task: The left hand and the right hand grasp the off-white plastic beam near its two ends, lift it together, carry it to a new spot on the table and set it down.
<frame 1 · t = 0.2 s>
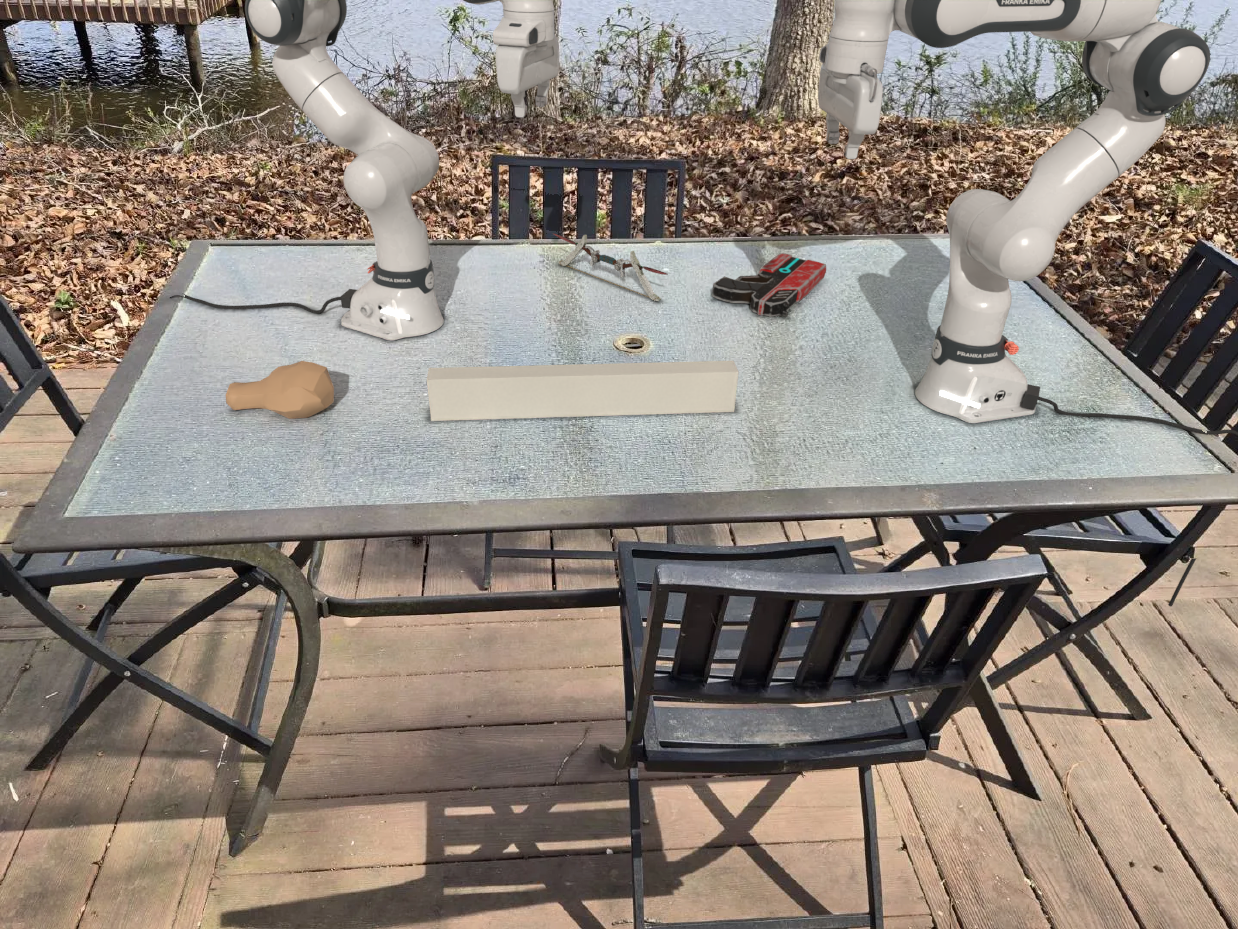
left hand: (531, 111, 161), 48 cm above the table, tool pointing down, fingers open, 8 cm apart
right hand: (840, 150, 143), 48 cm above the table, tool pointing down, fingers open, 8 cm apart
squash: (284, 410, 163), on the table
bow: (607, 282, 218), on the table
gun: (770, 291, 216), on the table
beam: (584, 410, 166), on the table
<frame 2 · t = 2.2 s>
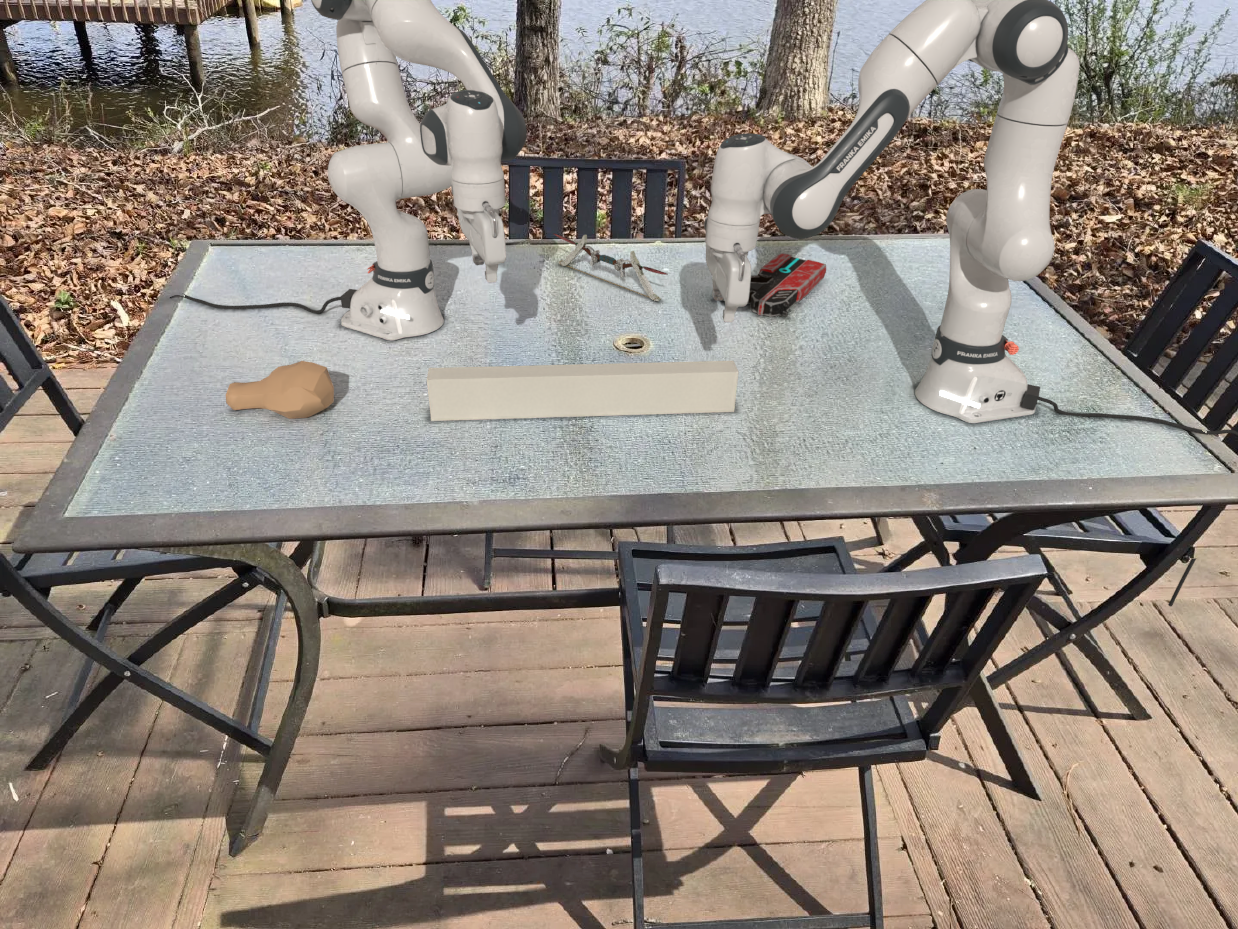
left hand: (484, 272, 157), 24 cm above the table, tool pointing down, fingers open, 8 cm apart
right hand: (722, 309, 157), 20 cm above the table, tool pointing down, fingers open, 8 cm apart
nothing on the table moved.
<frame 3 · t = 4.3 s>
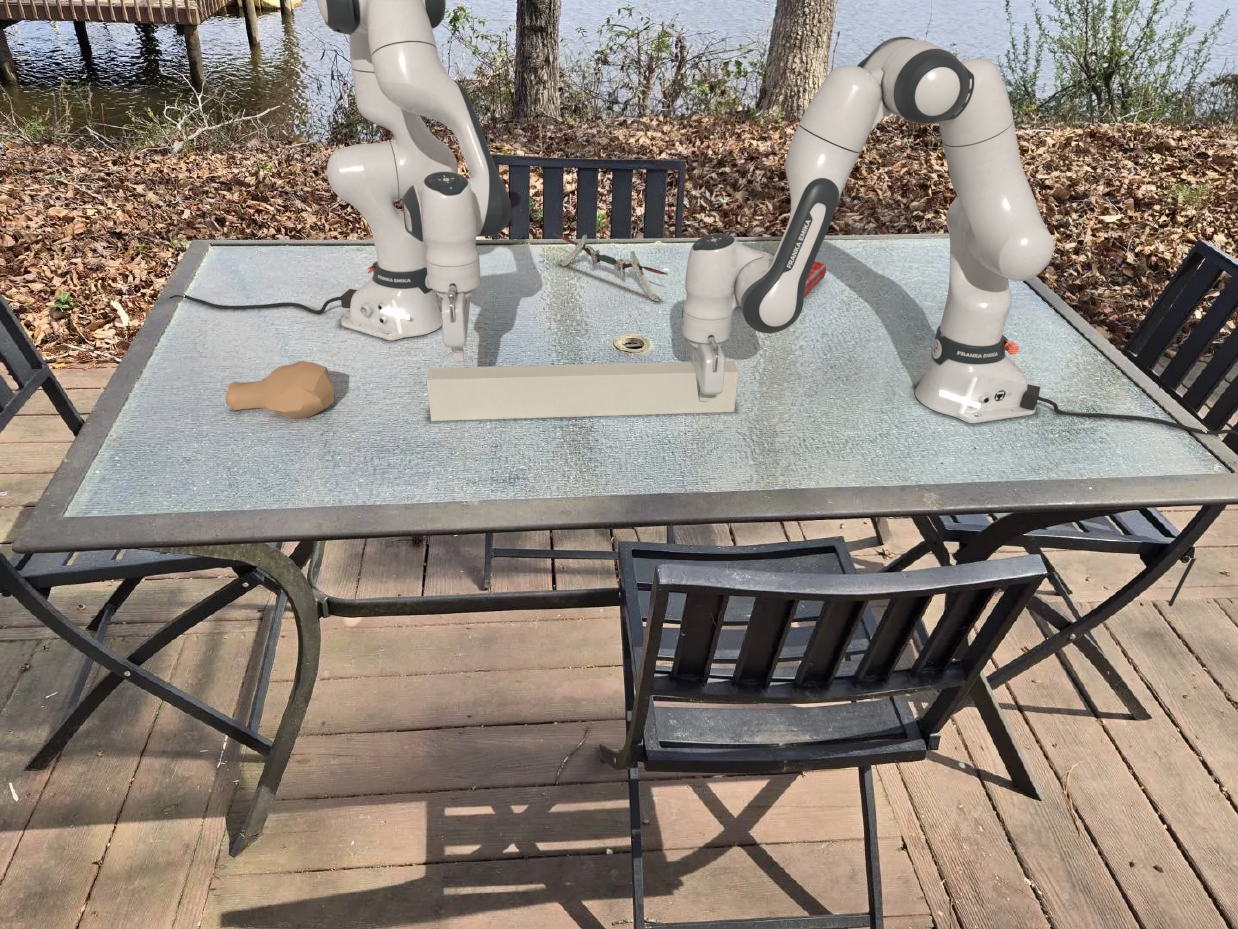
left hand: (460, 347, 156), 14 cm above the table, tool pointing down, fingers open, 8 cm apart
right hand: (700, 392, 166), 3 cm above the table, tool pointing down, fingers closed on beam, 4 cm apart
beam: (584, 410, 166), on the table, touching right hand
everything else where it was.
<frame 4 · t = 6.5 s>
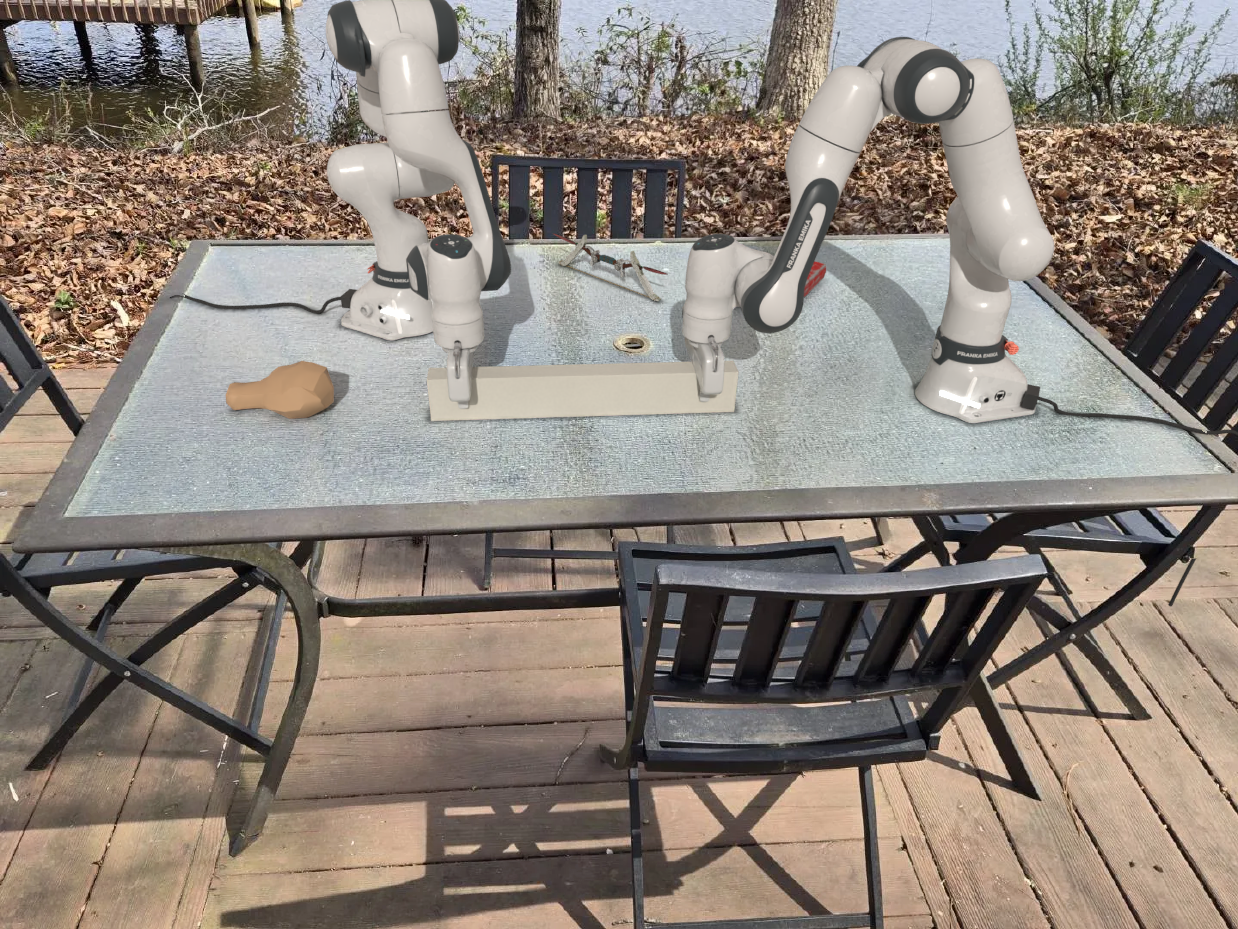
left hand: (464, 398, 162), 3 cm above the table, tool pointing down, fingers closed on beam, 4 cm apart
right hand: (700, 392, 166), 3 cm above the table, tool pointing down, fingers closed on beam, 4 cm apart
beam: (584, 410, 166), on the table, touching left hand, right hand
everything else where it was.
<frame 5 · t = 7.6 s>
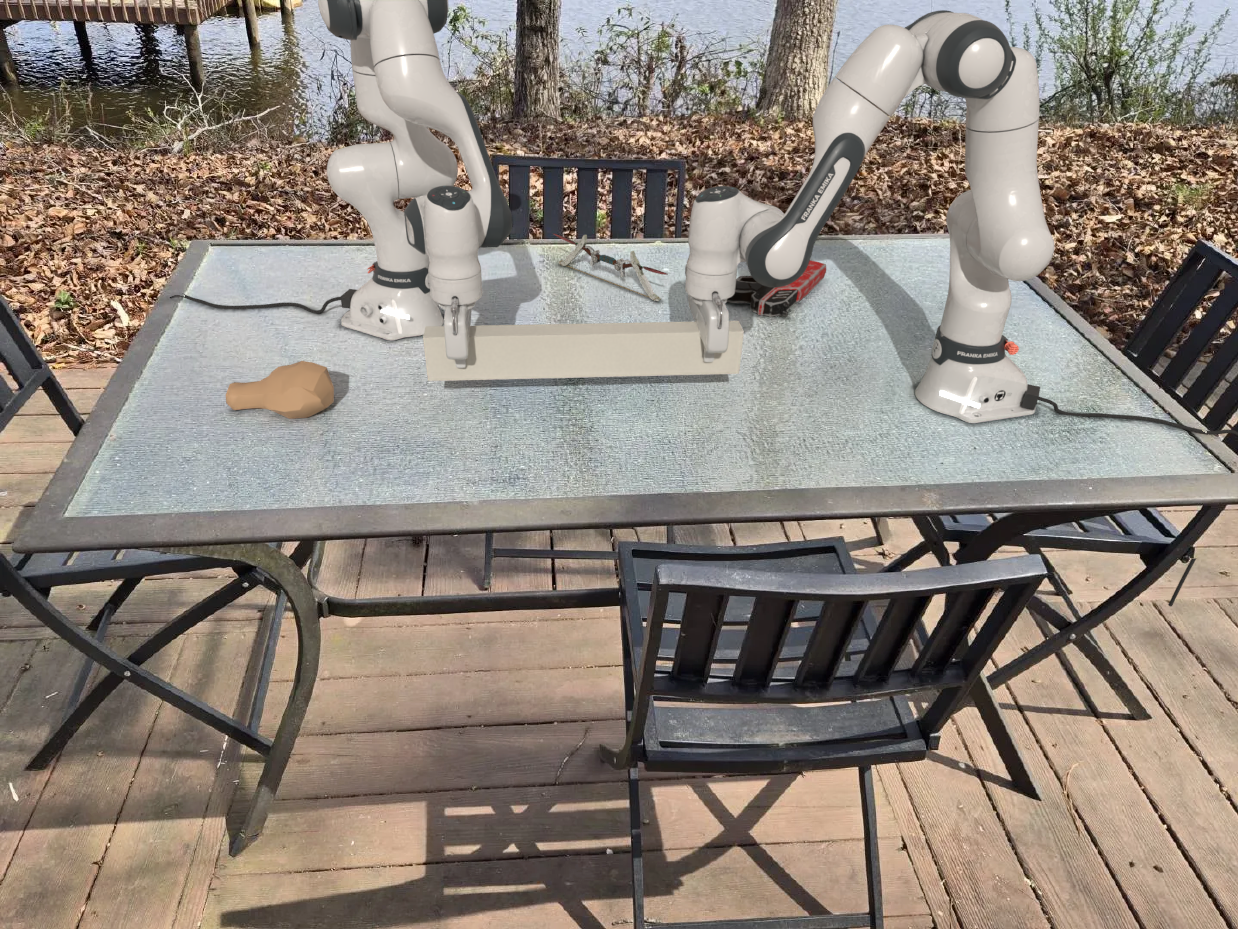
left hand: (461, 358, 158), 11 cm above the table, tool pointing down, fingers closed on beam, 4 cm apart
right hand: (705, 352, 162), 11 cm above the table, tool pointing down, fingers closed on beam, 4 cm apart
beam: (585, 371, 161), point 8 cm above the table, touching left hand, right hand
everything else where it was.
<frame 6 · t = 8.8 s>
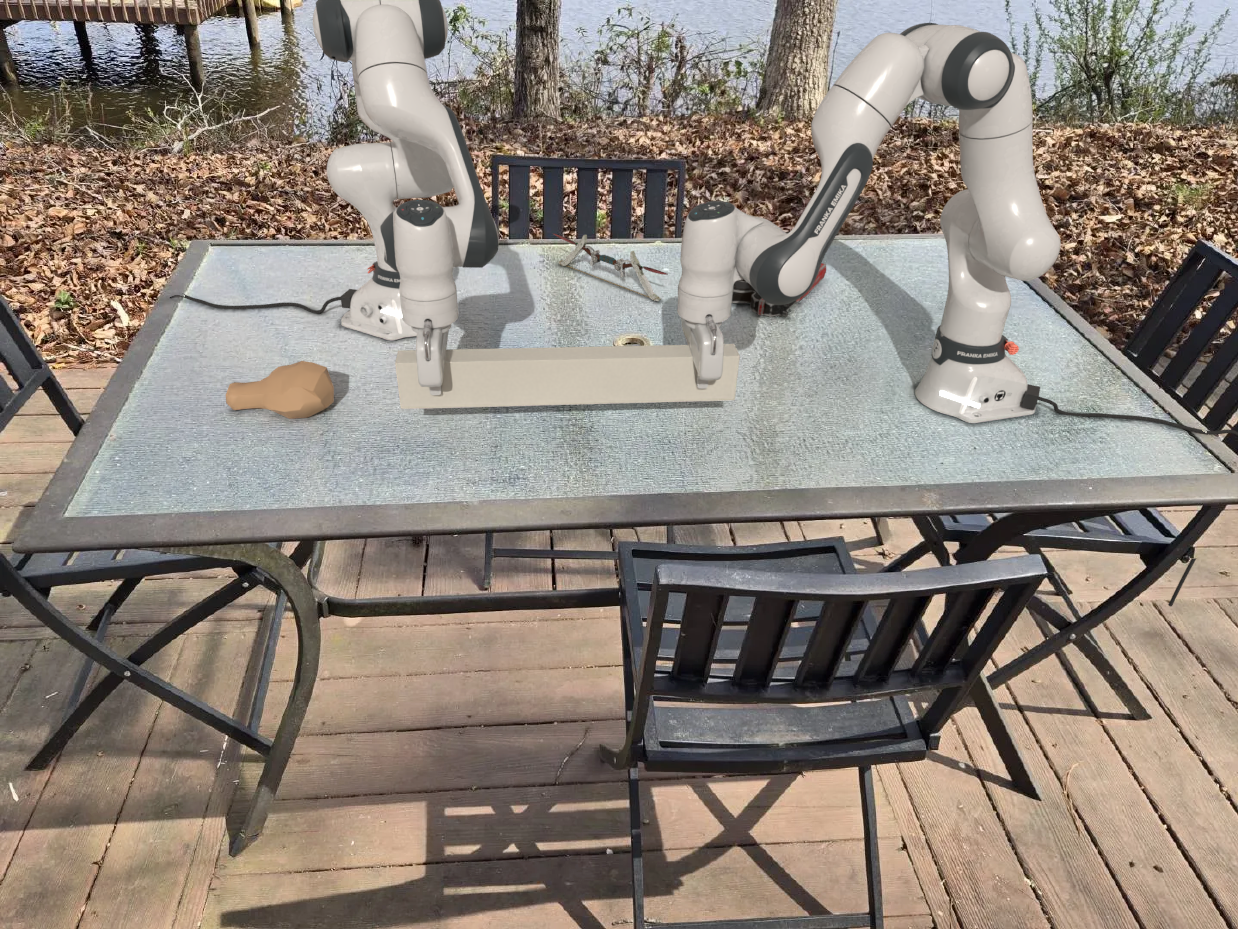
left hand: (437, 384, 147), 13 cm above the table, tool pointing down, fingers closed on beam, 4 cm apart
right hand: (698, 378, 151), 12 cm above the table, tool pointing down, fingers closed on beam, 4 cm apart
beam: (570, 397, 151), point 9 cm above the table, touching left hand, right hand
everything else where it was.
when the left hand's fingers open (5 cm above the table, at t = 11.2 s): beam stays where it is, on the table.
when the right hand's fingers open (5 cm above the table, at t = 11.2 s): beam stays where it is, on the table.
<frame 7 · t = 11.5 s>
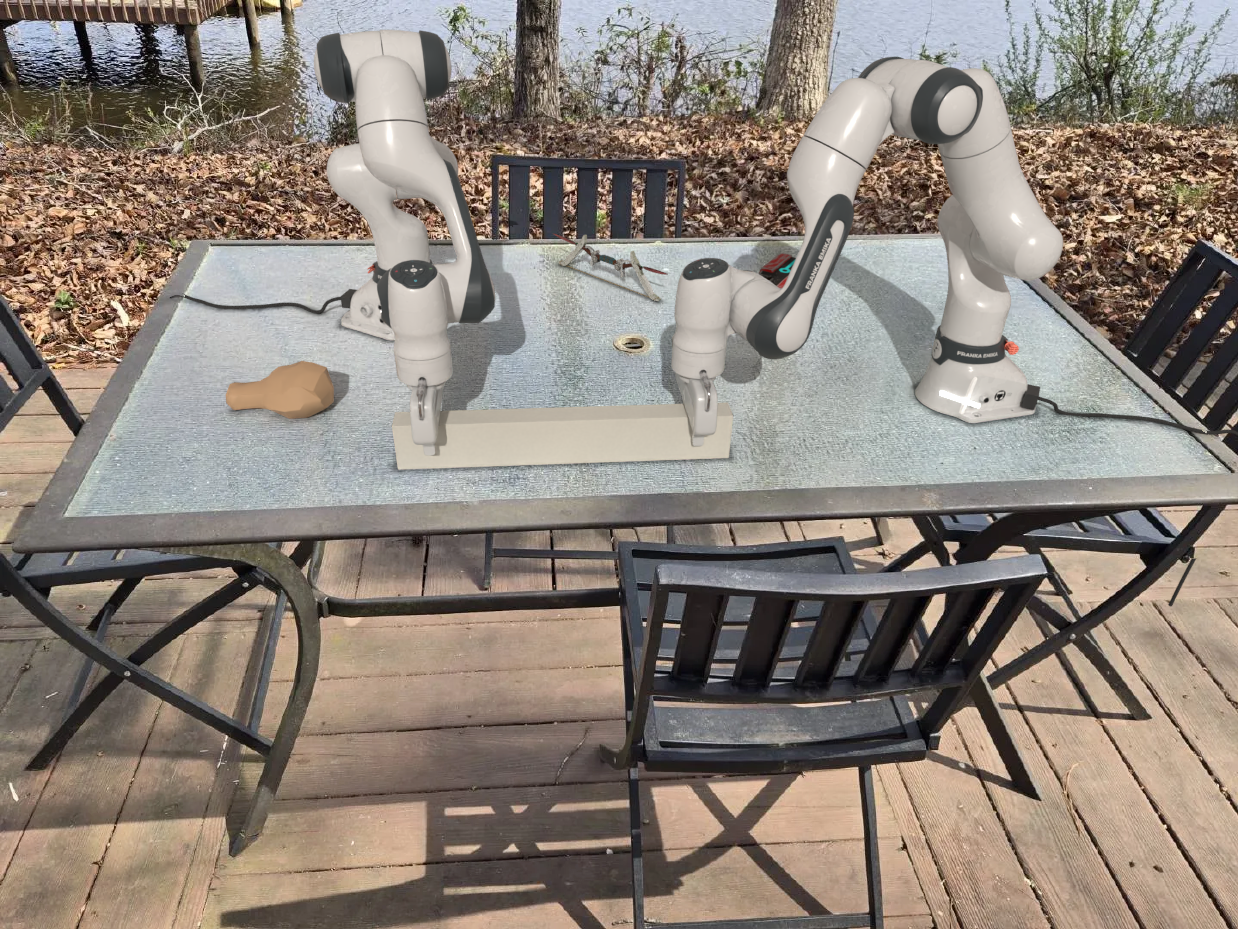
left hand: (432, 438, 147), 5 cm above the table, tool pointing down, fingers open, 8 cm apart
right hand: (692, 429, 152), 5 cm above the table, tool pointing down, fingers open, 8 cm apart
beam: (565, 456, 152), on the table
everything else where it was.
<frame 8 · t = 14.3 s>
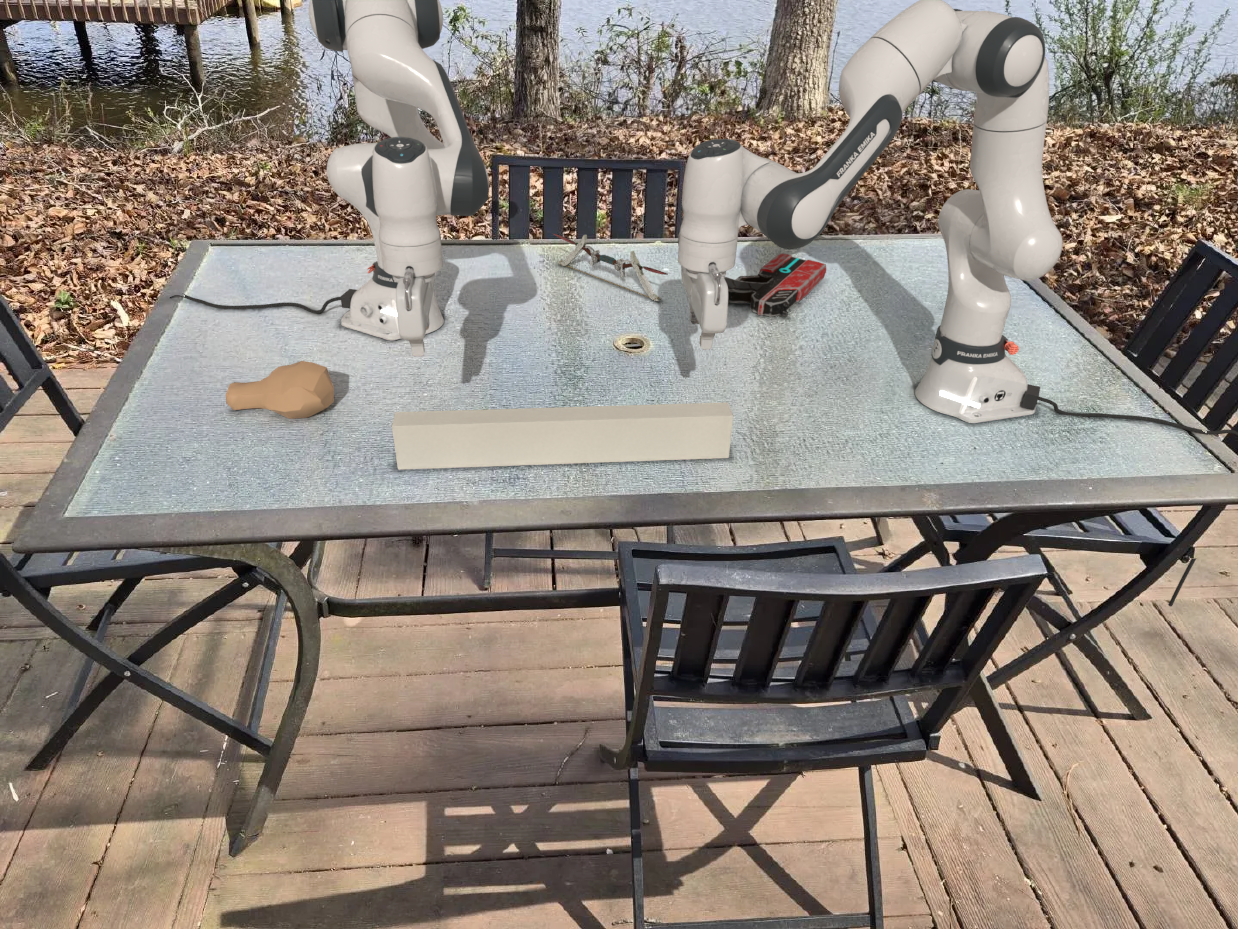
left hand: (421, 340, 137), 23 cm above the table, tool pointing down, fingers open, 8 cm apart
right hand: (700, 334, 142), 23 cm above the table, tool pointing down, fingers open, 8 cm apart
nothing on the table moved.
at the end: beam inside the target area (0.2 cm from its centre), on the table; beam tilted 0°; beam never tilted more than 1° during the clip; both hands held the beam at the same time; the left hand is holding nothing; the right hand is holding nothing; beam at rest at the end (0.0 cm/s) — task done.
